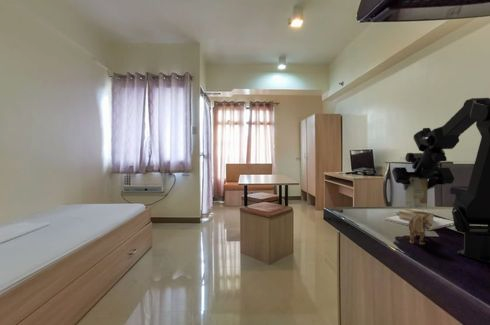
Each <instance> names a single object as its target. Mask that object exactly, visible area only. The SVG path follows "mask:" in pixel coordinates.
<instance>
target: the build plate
mask: <svg viewBox="0 0 490 325" xmlns="http://www.w3.org/2000/svg"><path fill="white" fill-rule="evenodd" d="M384 220H385V221H389V222H393V223H396V224H400V225H405V226H408V227H409V222H410V221H408V220H404V219H400V218H399V215H395V216H389V217H385V219H384ZM429 223H430V224H432V226H431V227H430V229H429V230H427V229H425V231H432V230H437V229H443V228H445V226H446V227H449V226H448V225H451V224H454V221H453V220H451V219H445V218H440V217H436V216H433V221H429ZM451 226H452V225H451Z"/></svg>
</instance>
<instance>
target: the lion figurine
mask: <svg viewBox="0 0 490 325" xmlns="http://www.w3.org/2000/svg"><path fill="white" fill-rule="evenodd" d="M431 226H432V224H430V223H429V222H428V220H426V219H425V216H424V215H416V216H414V217H413V218H412V219H411V220H410V222H409V226H408V229H409V239H410V240H408V241H409V242H410V243H409V244H415V235H416V236H419V240H418V242H419V244H420V245H425V244H426V243H425V242H424V238H425V237H426V231H430V230H429V229H430V227H431ZM425 229H427V230H425Z"/></svg>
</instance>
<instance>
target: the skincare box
mask: <svg viewBox="0 0 490 325" xmlns="http://www.w3.org/2000/svg"><path fill="white" fill-rule="evenodd" d="M428 180H429V179H418V178H411V179H410V183H411V184H410V185H409V187H408V188H407V189H406V190H404V191H405V198H404V206H405V207H408V208H411V209H419V208H422V209H424V208H428Z"/></svg>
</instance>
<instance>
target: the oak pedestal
mask: <svg viewBox="0 0 490 325" xmlns="http://www.w3.org/2000/svg"><path fill="white" fill-rule="evenodd" d="M416 215H424V216H425V219H426V220H428V222H429V221H433V217H434V212H431V211H425V210H420V209H417V208H409V209H402V210H399V211H398V216H399V218H400V219H404V220H408V221H410V220H411V219H412V218H413V217H414V216H416Z"/></svg>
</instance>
